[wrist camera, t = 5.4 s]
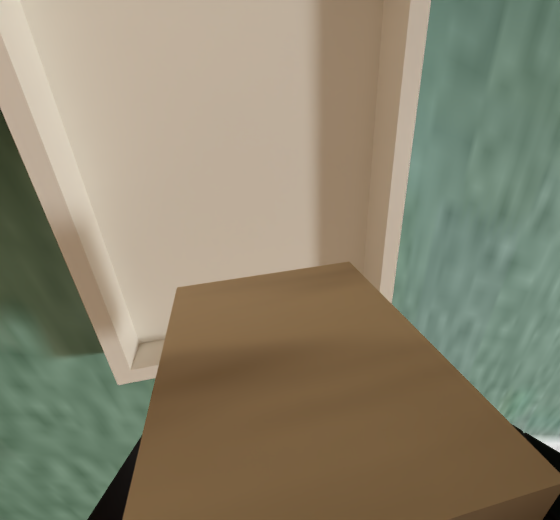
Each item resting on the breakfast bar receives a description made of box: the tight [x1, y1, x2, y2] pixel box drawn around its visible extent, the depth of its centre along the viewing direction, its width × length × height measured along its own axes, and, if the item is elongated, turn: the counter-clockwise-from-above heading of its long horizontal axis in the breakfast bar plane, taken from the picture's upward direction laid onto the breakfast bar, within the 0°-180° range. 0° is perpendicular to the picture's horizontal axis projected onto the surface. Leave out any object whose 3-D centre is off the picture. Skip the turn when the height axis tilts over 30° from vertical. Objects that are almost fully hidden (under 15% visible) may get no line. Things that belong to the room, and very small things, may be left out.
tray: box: [0, 0, 431, 385], centre depth 13 cm, size 15×18×2 cm
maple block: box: [122, 262, 560, 520], centre depth 7 cm, size 5×5×6 cm
